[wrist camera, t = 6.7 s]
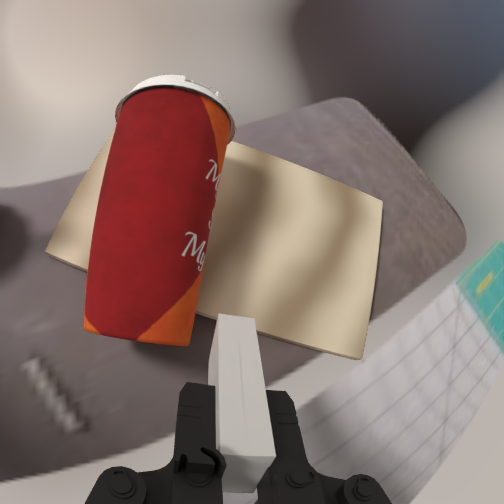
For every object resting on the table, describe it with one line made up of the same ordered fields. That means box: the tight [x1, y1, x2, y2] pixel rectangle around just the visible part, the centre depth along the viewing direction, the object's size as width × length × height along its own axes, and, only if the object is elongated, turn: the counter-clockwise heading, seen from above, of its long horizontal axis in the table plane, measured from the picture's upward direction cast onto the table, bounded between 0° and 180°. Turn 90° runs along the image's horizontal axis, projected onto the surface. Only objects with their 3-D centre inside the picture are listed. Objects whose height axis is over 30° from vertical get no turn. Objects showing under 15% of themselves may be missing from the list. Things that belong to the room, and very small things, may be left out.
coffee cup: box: [84, 75, 235, 346], centre depth 19 cm, size 8×8×15 cm
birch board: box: [45, 127, 383, 360], centre depth 24 cm, size 24×14×1 cm, turn 73°
